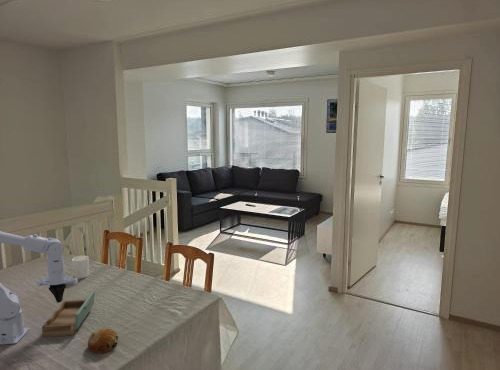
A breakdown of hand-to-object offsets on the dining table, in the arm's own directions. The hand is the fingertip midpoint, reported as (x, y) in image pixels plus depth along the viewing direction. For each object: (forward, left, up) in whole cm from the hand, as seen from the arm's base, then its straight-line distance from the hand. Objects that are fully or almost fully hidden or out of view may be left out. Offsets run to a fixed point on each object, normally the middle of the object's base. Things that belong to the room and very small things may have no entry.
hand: (59, 301), depth 139 cm
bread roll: (-18, -22, -9) cm, 30 cm away
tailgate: (0, -9, -7) cm, 11 cm away
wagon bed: (0, -3, -9) cm, 9 cm away
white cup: (+45, +8, -9) cm, 47 cm away
